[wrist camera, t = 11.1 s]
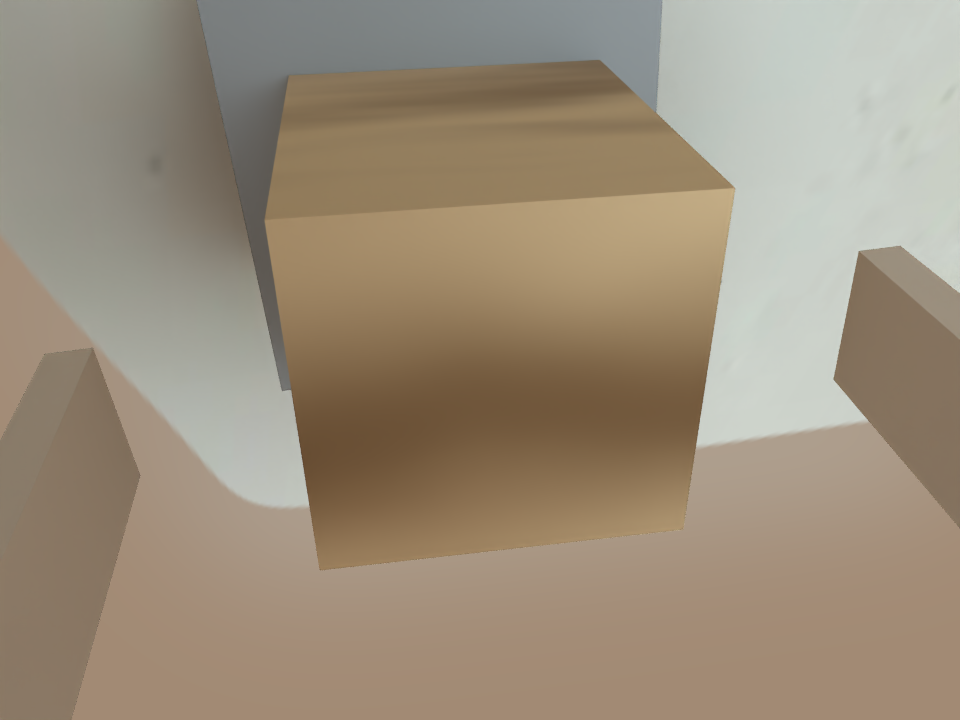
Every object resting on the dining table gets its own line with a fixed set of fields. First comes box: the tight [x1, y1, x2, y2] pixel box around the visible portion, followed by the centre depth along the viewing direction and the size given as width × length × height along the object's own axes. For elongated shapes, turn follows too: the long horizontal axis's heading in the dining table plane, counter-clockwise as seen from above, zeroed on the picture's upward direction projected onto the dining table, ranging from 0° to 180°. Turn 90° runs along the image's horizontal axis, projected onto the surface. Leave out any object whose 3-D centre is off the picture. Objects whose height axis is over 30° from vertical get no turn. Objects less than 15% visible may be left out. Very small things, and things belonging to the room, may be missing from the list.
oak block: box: [265, 60, 735, 570], centre depth 18 cm, size 7×7×8 cm
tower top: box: [196, 0, 662, 391], centre depth 23 cm, size 10×10×5 cm
